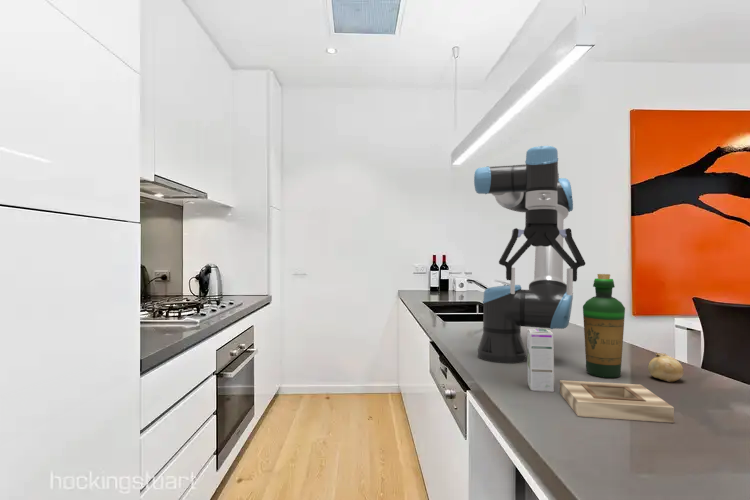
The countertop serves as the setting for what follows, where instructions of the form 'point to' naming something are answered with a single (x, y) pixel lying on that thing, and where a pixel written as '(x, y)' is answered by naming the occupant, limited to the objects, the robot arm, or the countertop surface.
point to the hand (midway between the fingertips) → (540, 294)
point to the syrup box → (540, 360)
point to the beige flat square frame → (615, 401)
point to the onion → (665, 368)
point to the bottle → (603, 330)
